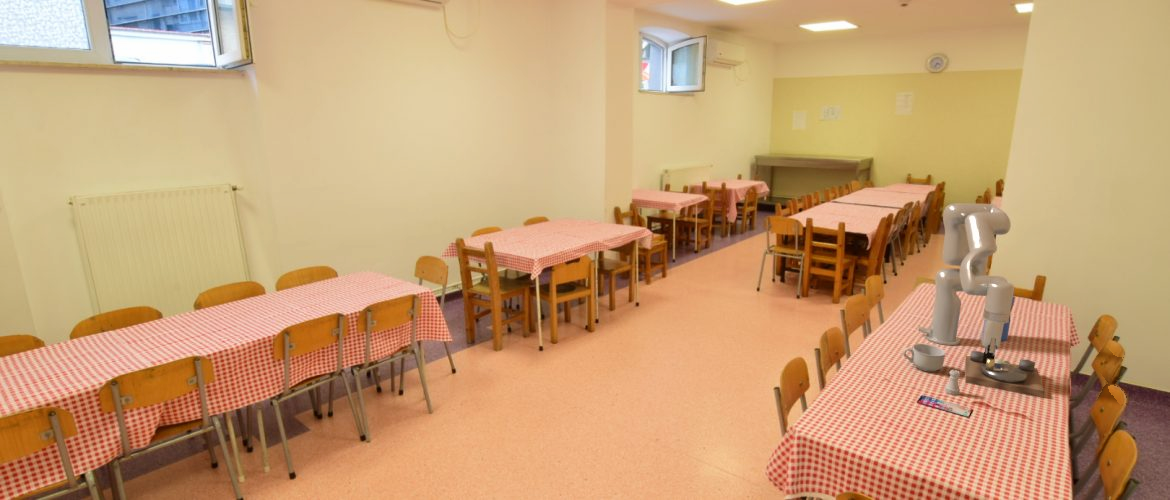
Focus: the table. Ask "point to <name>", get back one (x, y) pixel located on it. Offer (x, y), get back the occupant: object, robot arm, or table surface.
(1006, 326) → the water bottle
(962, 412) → the smartphone
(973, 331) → the table surface
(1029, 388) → the levelling base
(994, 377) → the silver metal dome
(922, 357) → the teacup
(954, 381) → the rook chess piece
